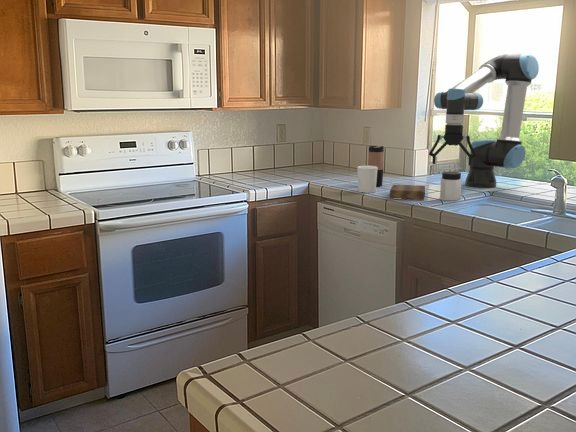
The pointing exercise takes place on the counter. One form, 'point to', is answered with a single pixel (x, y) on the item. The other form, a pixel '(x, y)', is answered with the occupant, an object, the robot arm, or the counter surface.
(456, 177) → the jar
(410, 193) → the walnut plinth
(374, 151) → the travel mug
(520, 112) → the robot arm
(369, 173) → the candle holder
